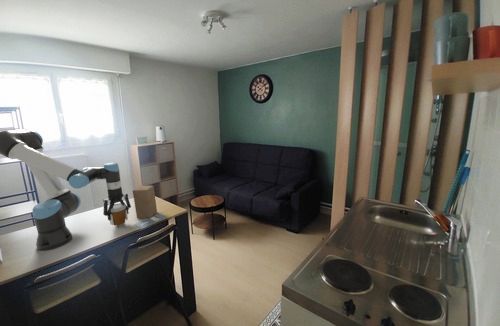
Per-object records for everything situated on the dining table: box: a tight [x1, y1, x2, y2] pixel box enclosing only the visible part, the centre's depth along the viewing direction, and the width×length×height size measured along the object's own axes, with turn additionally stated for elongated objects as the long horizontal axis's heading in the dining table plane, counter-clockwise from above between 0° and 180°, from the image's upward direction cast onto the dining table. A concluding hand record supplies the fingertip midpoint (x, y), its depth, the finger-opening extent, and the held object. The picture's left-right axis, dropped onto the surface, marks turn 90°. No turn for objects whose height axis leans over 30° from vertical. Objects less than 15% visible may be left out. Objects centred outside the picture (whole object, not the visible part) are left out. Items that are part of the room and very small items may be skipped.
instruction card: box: [133, 213, 168, 230], centre depth 146 cm, size 18×10×1 cm, turn 145°
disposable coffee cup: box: [111, 202, 127, 227], centre depth 139 cm, size 10×10×12 cm
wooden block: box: [132, 185, 158, 219], centre depth 153 cm, size 10×10×20 cm
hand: (119, 221), depth 140 cm, fingers closed on disposable coffee cup, 8 cm apart
